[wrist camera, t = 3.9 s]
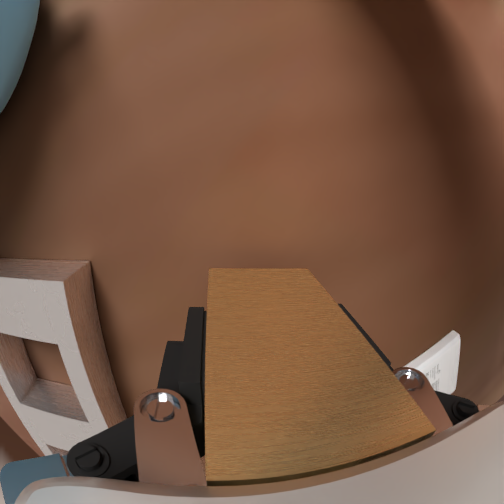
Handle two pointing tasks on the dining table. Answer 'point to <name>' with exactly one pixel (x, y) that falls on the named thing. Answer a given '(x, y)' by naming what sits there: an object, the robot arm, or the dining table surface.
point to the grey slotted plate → (71, 348)
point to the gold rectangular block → (294, 383)
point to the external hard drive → (440, 363)
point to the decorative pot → (15, 42)
